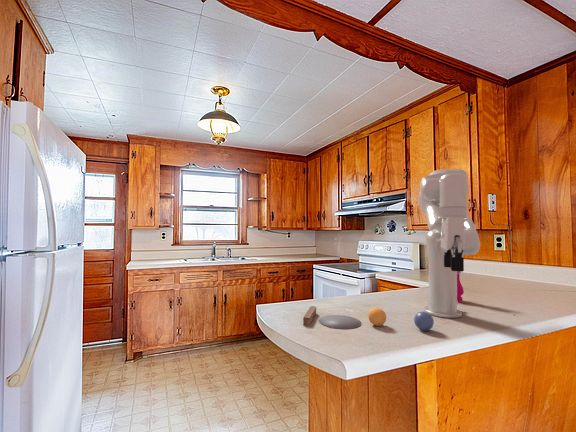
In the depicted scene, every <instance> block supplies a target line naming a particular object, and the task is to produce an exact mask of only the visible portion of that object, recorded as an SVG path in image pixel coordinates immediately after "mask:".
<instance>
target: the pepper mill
mask: <svg viewBox="0 0 576 432" xmlns="http://www.w3.org/2000/svg"><path fill="white" fill-rule="evenodd" d="M460 275H461V272H460V271H457V301H458V303H462V302H463V297H462V295H464V292H465V291H464V287H463V285H462V282H461V281H460V279H461V277H460Z"/></svg>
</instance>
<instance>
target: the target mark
mask: <svg viewBox="0 0 576 432" xmlns="http://www.w3.org/2000/svg"><path fill="white" fill-rule="evenodd" d="M318 323H319V324H321V325H322V326H324V327H326V328H331V329H337V330H350V329H357V328H359V327H361V326H362V322H361V320H359V319H358V318H356V317H353V316H349V315H343V314H329V315H328V314H327V315H325V316H324V315H323V316H321V317H320V318H318Z"/></svg>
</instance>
